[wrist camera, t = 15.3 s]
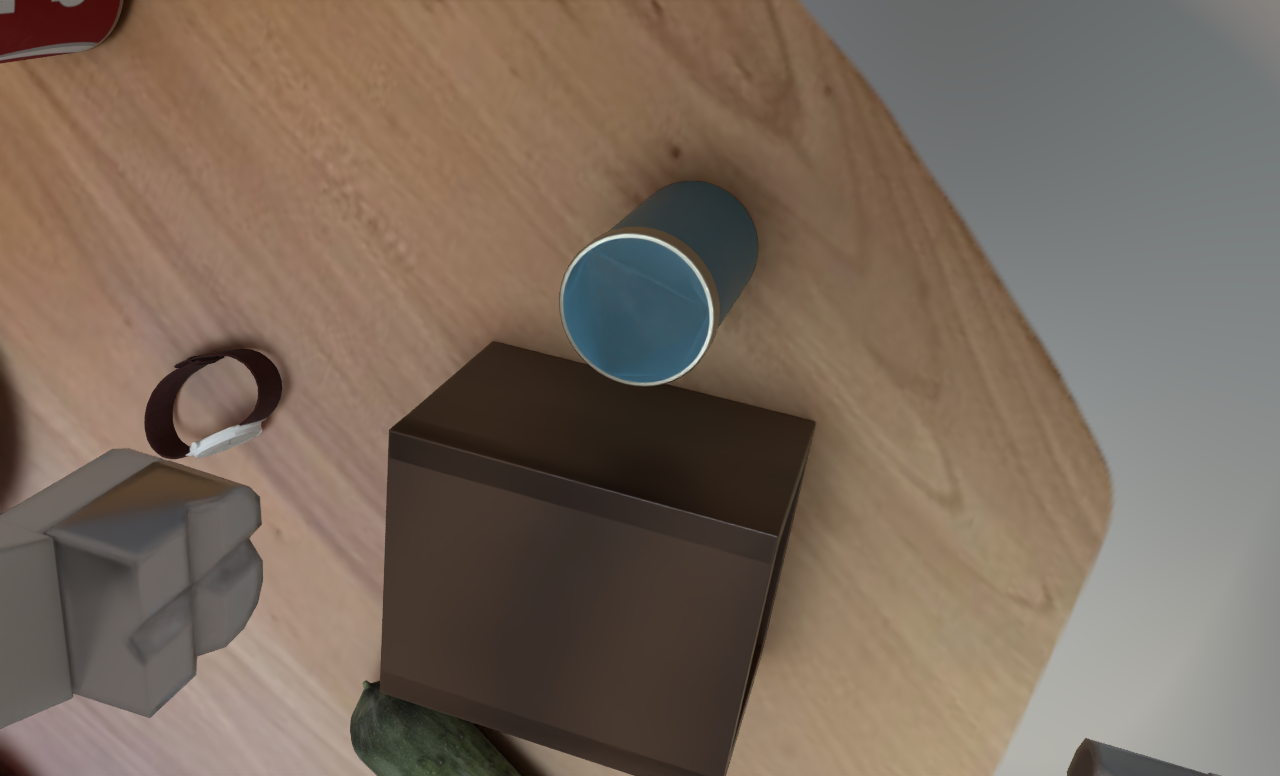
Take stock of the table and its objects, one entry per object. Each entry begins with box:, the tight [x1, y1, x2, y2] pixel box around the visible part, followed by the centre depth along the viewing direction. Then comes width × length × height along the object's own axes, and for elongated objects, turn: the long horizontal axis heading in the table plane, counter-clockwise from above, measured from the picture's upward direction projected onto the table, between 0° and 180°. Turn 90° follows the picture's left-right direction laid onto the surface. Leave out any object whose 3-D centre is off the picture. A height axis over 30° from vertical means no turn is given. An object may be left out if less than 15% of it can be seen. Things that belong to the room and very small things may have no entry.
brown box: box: [380, 342, 816, 776], centre depth 42 cm, size 14×12×9 cm
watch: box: [145, 349, 282, 459], centre depth 49 cm, size 8×5×4 cm, turn 122°
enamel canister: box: [559, 181, 758, 387], centre depth 37 cm, size 5×5×8 cm
